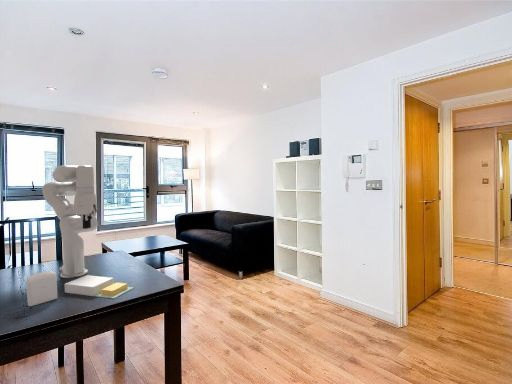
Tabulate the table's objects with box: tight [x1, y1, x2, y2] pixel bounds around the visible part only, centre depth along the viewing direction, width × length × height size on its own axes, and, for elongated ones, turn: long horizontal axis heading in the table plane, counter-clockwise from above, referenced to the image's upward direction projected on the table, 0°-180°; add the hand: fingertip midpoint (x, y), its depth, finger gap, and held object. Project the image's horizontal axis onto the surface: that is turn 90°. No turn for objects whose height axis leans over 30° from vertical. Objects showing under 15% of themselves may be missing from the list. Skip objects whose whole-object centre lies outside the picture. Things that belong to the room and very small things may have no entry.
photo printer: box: [26, 270, 59, 307], centre depth 119 cm, size 10×4×12 cm, turn 140°
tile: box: [101, 282, 128, 295], centre depth 129 cm, size 6×9×2 cm, turn 164°
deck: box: [64, 274, 115, 297], centre depth 133 cm, size 16×12×4 cm
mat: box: [93, 286, 134, 300], centre depth 129 cm, size 11×12×1 cm
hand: (86, 228), depth 140 cm, fingers closed
